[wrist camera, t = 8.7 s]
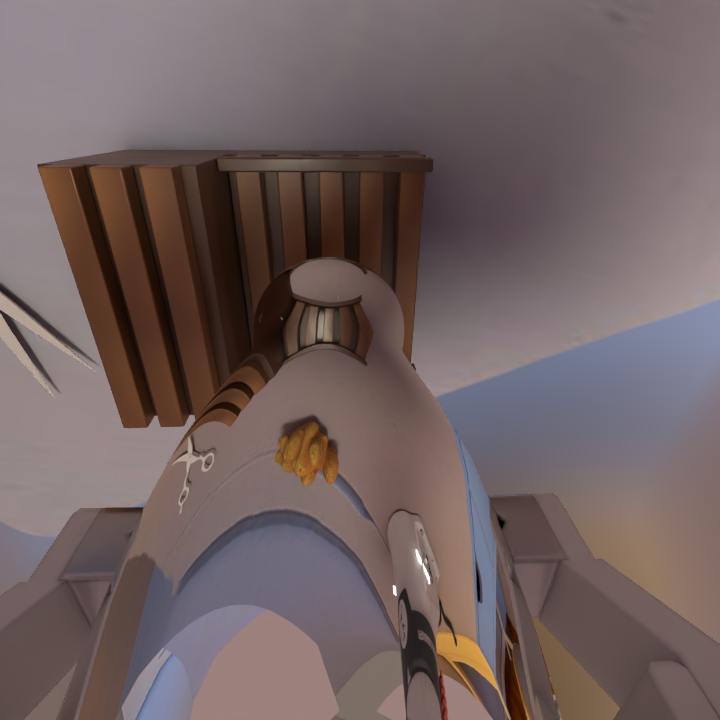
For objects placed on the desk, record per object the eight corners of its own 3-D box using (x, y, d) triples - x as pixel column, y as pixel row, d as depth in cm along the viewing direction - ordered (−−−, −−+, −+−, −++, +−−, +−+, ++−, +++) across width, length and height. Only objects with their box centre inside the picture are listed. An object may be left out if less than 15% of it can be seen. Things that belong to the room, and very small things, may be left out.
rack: (417, 151, 24) (455, 168, 16) (404, 341, 30) (428, 421, 22) (125, 149, 23) (19, 166, 16) (170, 345, 29) (111, 429, 22)
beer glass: (444, 341, 18) (710, 892, 5) (318, 422, 20) (284, 982, 7) (345, 204, 15) (392, 684, 2) (207, 314, 17) (-191, 926, 4)
